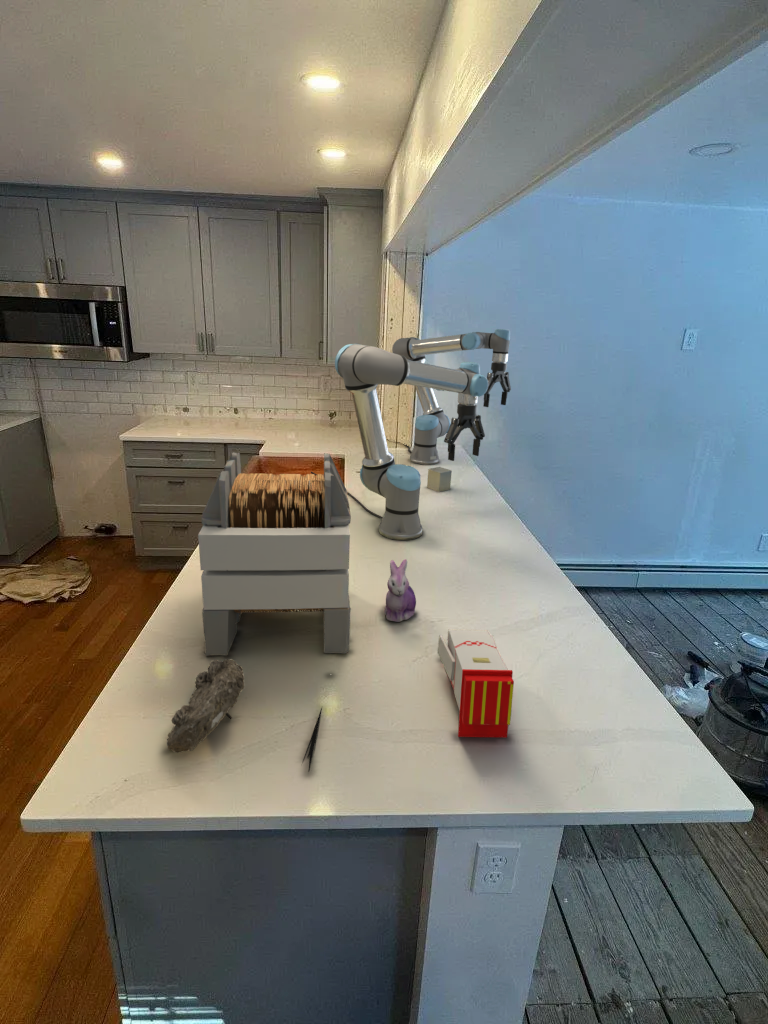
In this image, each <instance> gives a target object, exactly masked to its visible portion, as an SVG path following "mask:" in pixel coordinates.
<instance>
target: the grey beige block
mask: <svg viewBox="0 0 768 1024" xmlns="http://www.w3.org/2000/svg"><path fill="white" fill-rule="evenodd" d="M427 470H428V471H427V483H426V488H427V489H430V490H433V491H435V492H437V493H440V492H445V491H448V490H449V491H450V490H451V486H452V485H451V483H452V472H453V471H452V470H451V469H448V468H445V467H442V466H436V467H432V468H428V469H427Z"/></svg>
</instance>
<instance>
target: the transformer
mask: <svg viewBox="0 0 768 1024" xmlns="http://www.w3.org/2000/svg"><path fill="white" fill-rule="evenodd" d="M241 463H242V462H241V453H240V452H235V451H233V452H231V455H230V457H229V459H227V460H226V463H225V466H224V468H223V470H222V471H220V474H219V475H218V477H217V479H216V482H215V483H214V486H213V489H212V491H211V494H210V495H209V498H208V499H207V502H206V505H205V507H204V509H203V511H202V514H201V517H200V520H201V524H202V527H201V529H200V530H199V532H198V535H197V538H198V550H199V552H198V553H199V563H200V565H199V567H200V571H202V573H201V575H200V580H201V581H200V582H201V594H202V605H203V607H202V609H201V610H202V611H201V617H202V629H203V638H204V639H203V640H204V649H205V650H204V651H205V652H204V655H205V656H206V657H212V656H228V654H229V652H230V650H231V647H232V645H233V643H234V640H235V638H236V635H237V632H238V623H240V620H241V617H242V614H244V613H250V614H251V613H253V614H254V613H257V614H258V613H298V612H301V613H302V612H308V613H309V612H322V614H323V654H344V655H346V654H347V653H349V652H350V639H351V604H350V595H349V594H350V593H349V586H350V585H349V584H350V572H349V571H350V570H349V569H350V549H351V548H350V547H351V545H350V542H351V533H350V532H351V531H350V526H349V525H350V524H351V520H352V516H351V515H352V514H351V509H350V502H349V495H348V494H347V492H348V490H347V488H346V486H345V484H344V482H343V480H342V478H341V474H340V473H339V471H338V469H337V466H336V465H335V462H334V460H333V458H332V455H331V454H330V453H326V452H324V453H323V473H322V474H321V473H318V474H317V473H315V474H316V476H315V474H312V473H306V474H303V475H302V474H301V473H280V474H273V473H244V472H243V473H242V466H241Z"/></svg>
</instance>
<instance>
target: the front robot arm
mask: <svg viewBox="0 0 768 1024" xmlns="http://www.w3.org/2000/svg"><path fill="white" fill-rule="evenodd" d="M334 369H335V372H336V373H337V374H338V376H340V377H341V378H342V380H343V384H344V388H345V390H346V391H347V392H349V393H350V394H351V399H352V403H353V407H354V413H355V418H356V423H357V426H358V431H359V436H360V441H361V444H362V450H363V453H364V457H363V458H362V459H361V468H360V470H359V479H360V481H361V484H362V485H363V486H364V487H365V488H366V489H368V490H369V491H371V492H373V493H375V494H377V495H379V496H380V497H382V498H385V504H384V505H385V507H384V508H385V509H384V513H383V515H382V516H381V515H380V514H377V513H375V512H373V511H372V510H370V509H368V508H367V507H366V506H365V505H364V504H363V503H362V502H361V501H360V500H358V499H357V497H355V496H354V495H352V494H351V493H350V492H349V491H347V495H348V496H349V497H351V498H352V499H353V500H354V501H355V502H356V503H357V504H359V505H360V506H361V507H362V508H363V509H364V511H366V512H368V513H369V514H371V515H373V516H375V517H377V518H379V519H381V522H379V525H378V533H379V534H380V535H381V536H382V537H385V538H387V539H389V540H395V541H410V540H415V539H418V538H420V537H421V536H422V535H423V525H422V524H421V518H420V515H419V507H420V506H419V505H420V496H421V495H420V494H421V482H422V481H421V473H420V471H419V470H418V469H417V468H416V467H413V466H411V465H406V464H401V463H397V464H396V461H395V456H394V454H393V453H392V452H390V451H389V448H388V442H387V436H386V433H385V427H384V422H383V417H382V411H381V407H380V402H379V396H378V392H377V388H378V385H385V386H386V385H388V386H396V387H400V386H402V385H409V386H414V387H415V386H420V387H426V388H432V389H433V390H435V391H441V392H451V393H456V394H457V406H456V407H457V408H456V414H457V417H452V418H450V427H449V429H448V432H447V433H446V434H445V437H444V439H443V442H444V443H446V444H447V453H448V454H447V460H448V461H451V462H454V461H455V454H456V444H455V442H456V441H457V439H458V437H459V436H460V434H461V433H462V431H464V430H466V429H469V430H470V431H471V433H472V435H473V436H474V438H473V441H472V456H476V457H479V455H480V447H481V441H483V440H484V438H485V437H486V434H485V431H484V427H483V423H482V416H481V414H477V413H478V405H477V404H478V398H479V397H482V396H484V394H485V393H486V391H487V388H488V380H487V376H485V375H483V374H481V365H480V363H478V362H473V361H463V362H461V363H460V364H459V368H449V367H445V366H439V365H435V364H430V363H426V362H425V363H420V362H415V361H411V360H407V359H406V357H405V356H402V355H398V354H394V353H393V352H392V351H388V350H386V349H383V348H380V347H377V346H371V345H365V344H360V343H349V344H345V345H344V346H342V347H341V348H340V349H339V350H338V352H337V354H336V355H335V359H334ZM310 474H315V477H316V474H317V473H315V472H313V471H310Z"/></svg>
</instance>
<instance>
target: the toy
mask: <svg viewBox="0 0 768 1024" xmlns="http://www.w3.org/2000/svg"><path fill="white" fill-rule="evenodd" d="M446 640H447V643H446V641H445V639H444V636H443V635H442V634H439V637H438V646H437V656H438V657H439V659H440V661H441V663H442V666H443V668H444V670H445V672H446V674H447V677H448V679H449V681H450V684H451V687H452V690H453V693H454V697H455V701H456V705H457V708H458V711H459V714H458V715H459V716H458V730H457V731H458V732H457V737H458V738H508V731H509V726H510V725H511V717H512V707H513V697H514V696H513V695H514V684H515V680H514V679H513V673H514V671H513V670H512V669H508V667H507V665H506V662H505V661H504V659H503V658H502V655H501V653H500V651H499V649H498V647H497V643H496V639H495V637H494V635H493V634H491V632H490V631H489V629H467V628H466V629H465V628H463V629H461V628H460V629H459V628H448V630H447V639H446Z"/></svg>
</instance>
